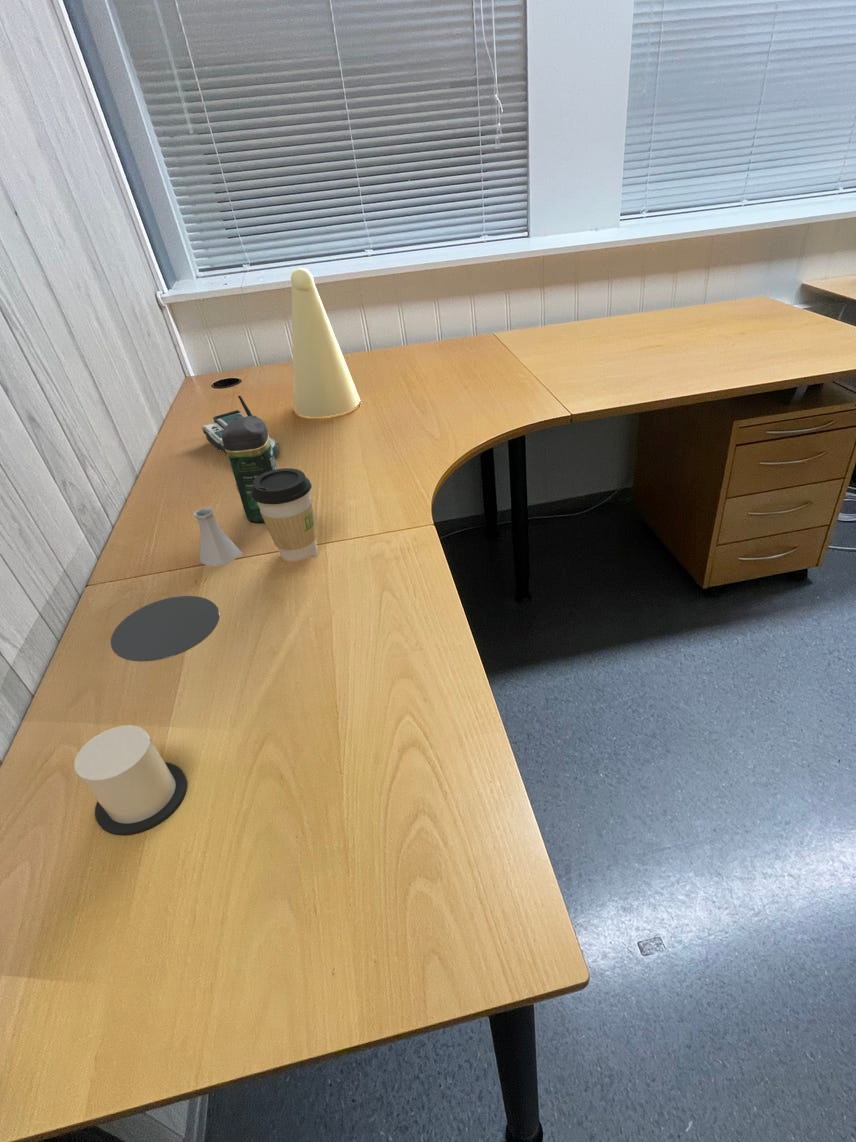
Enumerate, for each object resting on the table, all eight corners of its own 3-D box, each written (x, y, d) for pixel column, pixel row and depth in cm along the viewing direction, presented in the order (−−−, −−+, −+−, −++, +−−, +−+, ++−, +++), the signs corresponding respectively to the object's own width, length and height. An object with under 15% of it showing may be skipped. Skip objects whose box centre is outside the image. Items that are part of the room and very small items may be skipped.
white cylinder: (93, 821, 70) (58, 778, 65) (128, 767, 76) (99, 723, 71) (156, 825, 69) (126, 782, 64) (187, 771, 75) (162, 726, 70)
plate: (92, 665, 92) (88, 659, 91) (147, 600, 104) (144, 594, 103) (194, 669, 90) (191, 662, 89) (238, 602, 102) (235, 596, 101)
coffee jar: (285, 522, 122) (259, 429, 110) (244, 526, 121) (213, 433, 109) (290, 499, 129) (266, 410, 117) (252, 503, 129) (223, 414, 117)
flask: (226, 575, 109) (208, 524, 102) (192, 569, 110) (172, 519, 104) (250, 553, 114) (234, 504, 107) (217, 548, 116) (199, 499, 109)
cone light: (293, 399, 176) (259, 256, 153) (357, 391, 179) (333, 249, 156) (294, 431, 158) (256, 274, 135) (366, 422, 160) (340, 266, 138)
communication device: (243, 473, 141) (231, 435, 135) (204, 442, 155) (191, 406, 149) (291, 456, 146) (281, 420, 140) (249, 428, 161) (239, 393, 155)
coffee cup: (338, 549, 113) (321, 473, 103) (301, 577, 107) (279, 498, 97) (299, 537, 117) (278, 462, 108) (260, 563, 111) (235, 486, 101)
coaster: (78, 832, 70) (76, 830, 69) (125, 762, 77) (124, 759, 77) (161, 838, 69) (160, 835, 68) (201, 766, 76) (200, 763, 76)
